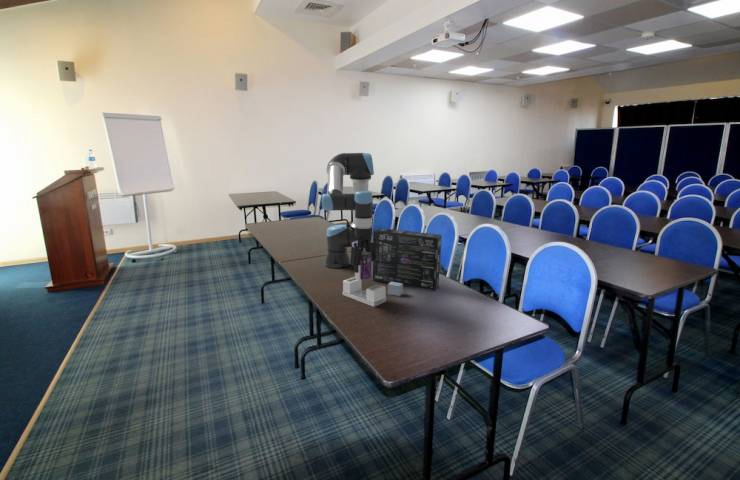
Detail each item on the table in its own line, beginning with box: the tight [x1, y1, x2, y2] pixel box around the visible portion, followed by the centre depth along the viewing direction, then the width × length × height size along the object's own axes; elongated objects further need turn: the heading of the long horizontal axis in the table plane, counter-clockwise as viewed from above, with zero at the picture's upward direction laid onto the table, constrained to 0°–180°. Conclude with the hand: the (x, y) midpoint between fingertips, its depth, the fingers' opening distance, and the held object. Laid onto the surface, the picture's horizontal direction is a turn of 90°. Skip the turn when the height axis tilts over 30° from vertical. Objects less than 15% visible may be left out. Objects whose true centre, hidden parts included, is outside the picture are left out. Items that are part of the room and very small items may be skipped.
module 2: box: [365, 283, 387, 302], centre depth 162 cm, size 8×4×6 cm, turn 137°
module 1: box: [342, 276, 363, 293], centre depth 172 cm, size 8×4×6 cm, turn 137°
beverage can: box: [356, 250, 373, 281], centre depth 164 cm, size 7×7×12 cm
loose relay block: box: [387, 282, 404, 297], centre depth 172 cm, size 4×6×5 cm, turn 62°
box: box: [372, 228, 442, 291], centre depth 183 cm, size 33×7×27 cm, turn 65°
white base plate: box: [342, 288, 387, 308], centre depth 167 cm, size 8×20×2 cm, turn 47°
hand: (363, 276), depth 165 cm, fingers closed on beverage can, 7 cm apart
